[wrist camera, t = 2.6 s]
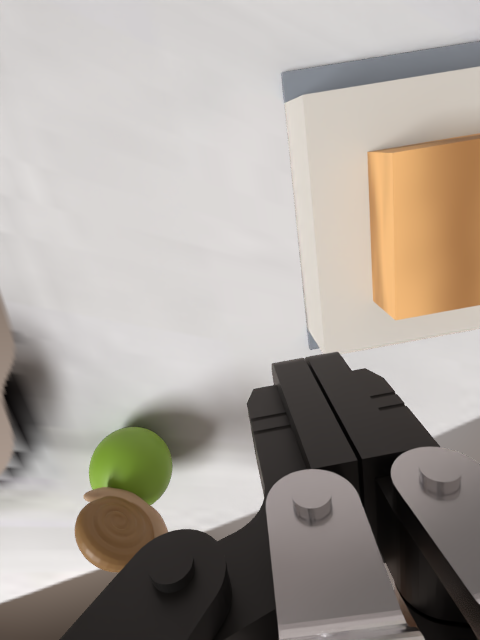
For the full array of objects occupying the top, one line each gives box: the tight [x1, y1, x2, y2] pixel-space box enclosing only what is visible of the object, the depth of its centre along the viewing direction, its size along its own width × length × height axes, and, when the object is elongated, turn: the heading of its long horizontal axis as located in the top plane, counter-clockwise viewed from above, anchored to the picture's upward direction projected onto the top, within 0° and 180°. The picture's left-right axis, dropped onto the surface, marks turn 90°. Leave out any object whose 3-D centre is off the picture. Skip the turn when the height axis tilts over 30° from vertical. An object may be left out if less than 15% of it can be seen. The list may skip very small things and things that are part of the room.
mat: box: [281, 41, 480, 350], centre depth 28 cm, size 20×17×1 cm
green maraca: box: [75, 427, 172, 572], centre depth 27 cm, size 5×6×12 cm
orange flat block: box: [367, 133, 480, 320], centre depth 22 cm, size 6×8×3 cm
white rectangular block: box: [284, 66, 480, 354], centre depth 26 cm, size 10×14×4 cm
